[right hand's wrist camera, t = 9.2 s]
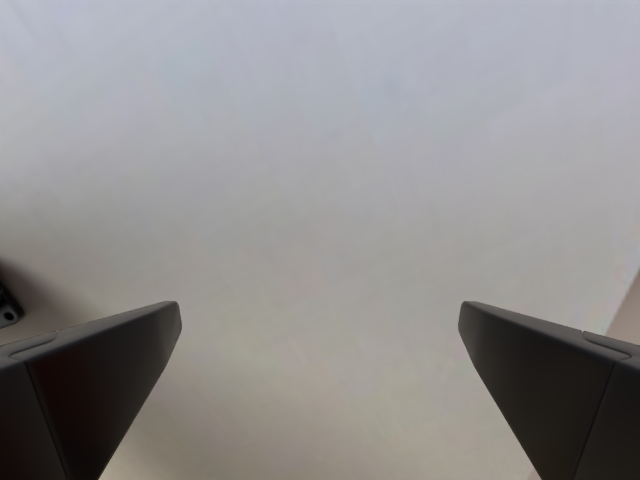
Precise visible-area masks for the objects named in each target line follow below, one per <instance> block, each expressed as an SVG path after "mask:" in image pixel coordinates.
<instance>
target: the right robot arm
mask: <svg viewBox="0 0 640 480" xmlns="http://www.w3.org/2000/svg"><path fill="white" fill-rule="evenodd" d="M12 314H13V315H12ZM23 317H24V312H23V310H22V309H21V307H20V306H19V305H18V303H17V302H16V301H15V299H14V298H13V297H12V296H11V294H10V293H9V292H8V290H7V289H6V288H5V286H4V285H3V284H2V282H1V281H0V329H1V328H4V327H7V326H9V325H12V324H15V323H17V322H18V321H19V320H21V319H22V318H23ZM181 329H182V322H181V316H180V310H179V305H178V303H177V302H175V301H165V302H160V303H157V304H153V305H150V306H146V307H142V308H139V309H135V310H131V311H128V312H124V313H120V314H117V315H113V316H110V317H106V318H102V319H99V320H95V321H91V322H88V323H84V324H80V325H77V326H73V327H70V328H66V329H62V330H59V331H58V332H57V331H53V332H50V333H46V334H42V335H38V336H35V337H31V338H27V339H23V340H19V341H16V342H12V343H8V344H4V345H0V480H98V479H99V478H100V476H101V474H102V473H103V471H104V469H105V468H106V466H107V464H108V463H109V461H110V459H111V458H112V456H113V454H114V453H115V451H116V449H117V448H118V446H119V444H120V443H121V441H122V439H123V438H124V436H125V434H126V433H127V431H128V429H129V427H130V426H131V424H132V422H133V421H134V419H135V417H136V416H137V414H138V412H139V411H140V409H141V407H142V406H143V404H144V402H145V401H146V399H147V397H148V396H149V394H150V392H151V391H152V389H153V387H154V386H155V384H156V382H157V381H158V379H159V377H160V376H161V374H162V372H163V370H164V369H165V367H166V365H167V363H168V361H169V358H170V356H171V354H172V352H173V349H174V347H175V345H176V342H177V340H178V338H179V335H180V333H181ZM458 329H459V333H460V335H461V338H462V340H463V342H464V345H465V347H466V349H467V352H468V354H469V356H470V358H471V361H472V363H473V365H474V367H475V369H476V370H477V372H478V374H479V376H480V377H481V379H482V381H483V382H484V384H485V386H486V387H487V389H488V391H489V392H490V394H491V396H492V397H493V399H494V401H495V402H496V404H497V406H498V407H499V409H500V411H501V412H502V414H503V416H504V417H505V419H506V421H507V422H508V424H509V426H510V427H511V429H512V431H513V433H514V434H515V436H516V438H517V439H518V441H519V443H520V444H521V446H522V448H523V449H524V451H525V453H526V454H527V456H528V458H529V459H530V461H531V463H532V464H533V466H534V468H535V469H536V471H537V473H538V474H539V476H540V478H541V479H542V480H640V345H636V344H632V343H628V342H624V341H621V340H617V339H613V338H609V337H605V336H602V335H598V334H594V333H590V332H587V331H583V332H582V331H581V330H578V329H574V328H570V327H567V326H563V325H560V324H556V323H552V322H549V321H545V320H541V319H538V318H534V317H530V316H527V315H523V314H520V313H516V312H512V311H509V310H505V309H501V308H498V307H494V306H490V305H487V304H483V303H480V302H475V301H465V302H463V303H462V305H461V310H460V316H459V322H458Z"/></svg>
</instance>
